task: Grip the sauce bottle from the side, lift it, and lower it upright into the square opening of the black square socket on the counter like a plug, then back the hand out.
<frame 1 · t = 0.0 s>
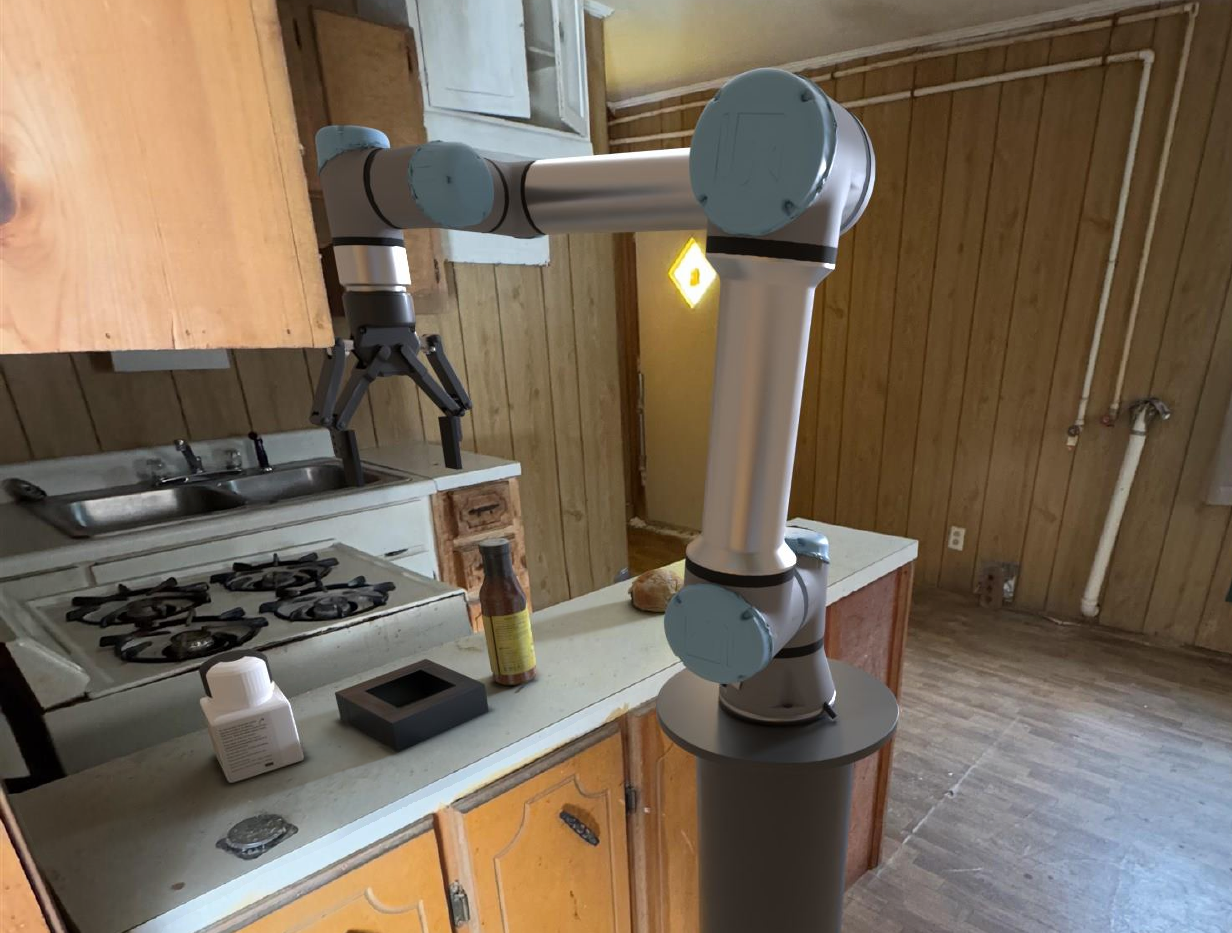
hand: (407, 476, 98), 29 cm above the worktop, tool pointing down, fingers open, 13 cm apart
bread roll: (657, 604, 138), on the worktop
container: (261, 760, 91), on the worktop
black square socket: (415, 715, 100), on the worktop
sauce bottle: (514, 678, 111), on the worktop
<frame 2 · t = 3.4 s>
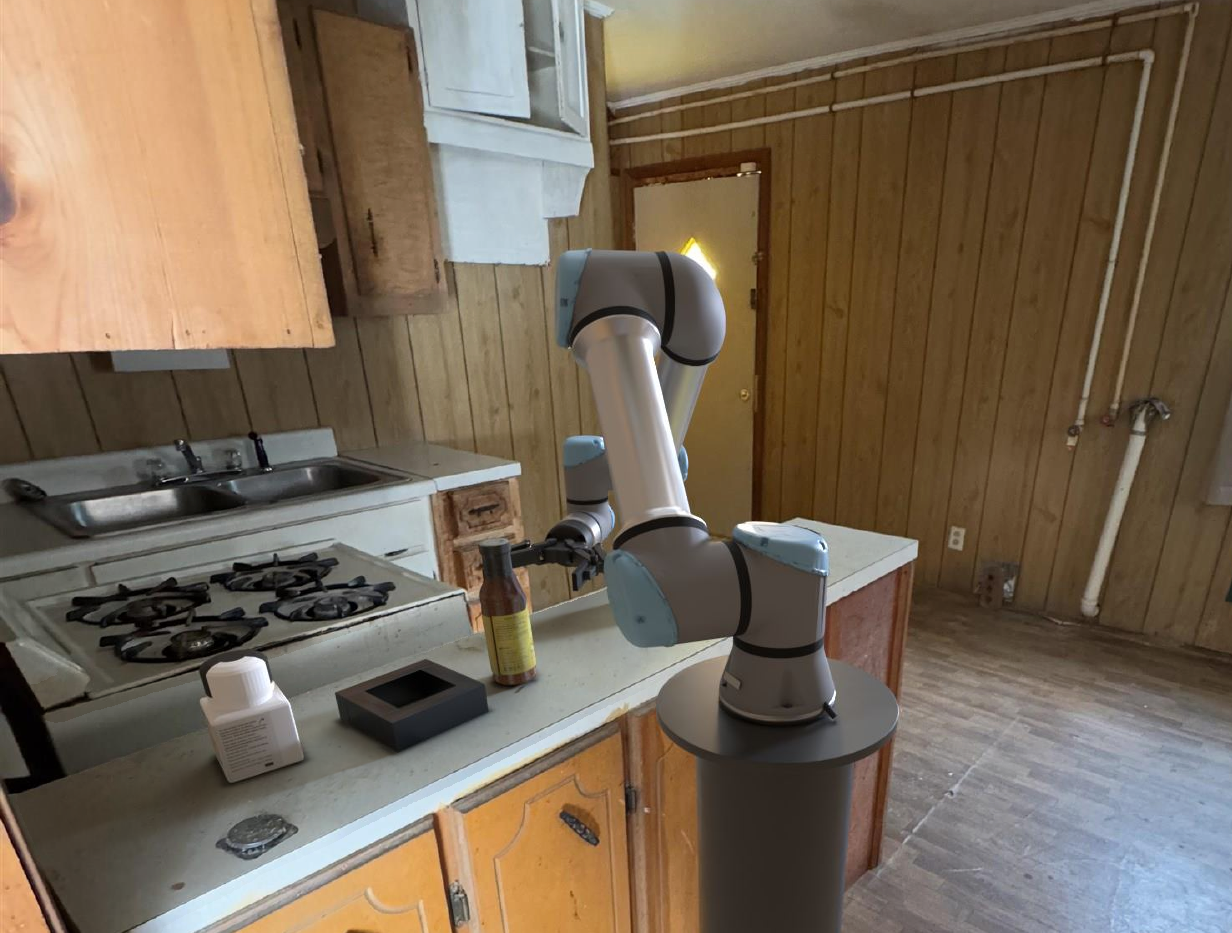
hand: (529, 580, 115), 11 cm above the worktop, tool horizontal, fingers open, 13 cm apart
nothing on the worktop moved.
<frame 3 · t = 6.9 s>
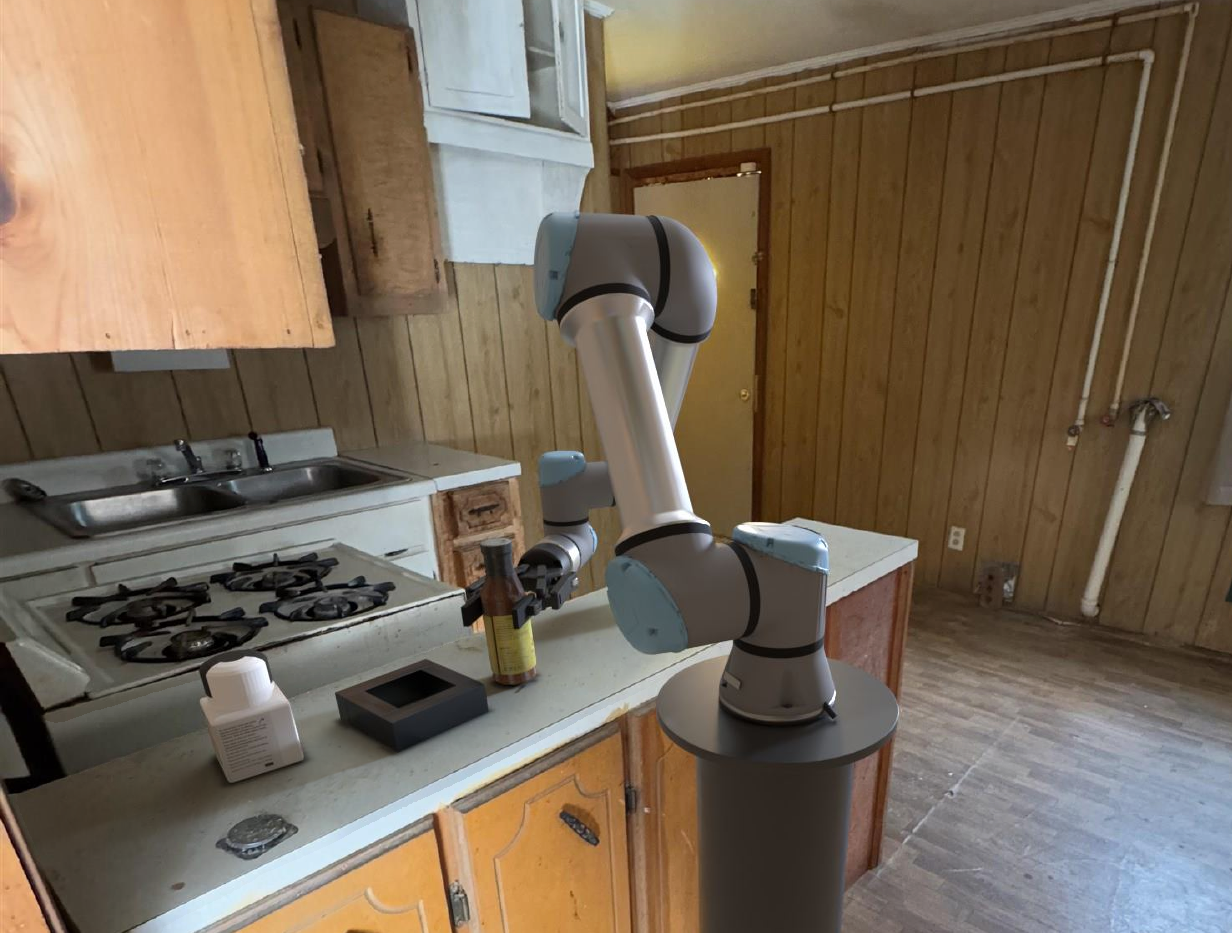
hand: (490, 618, 101), 11 cm above the worktop, tool horizontal, fingers closed on sauce bottle, 6 cm apart
sauce bottle: (514, 678, 111), on the worktop, touching gripper
everything else where it was.
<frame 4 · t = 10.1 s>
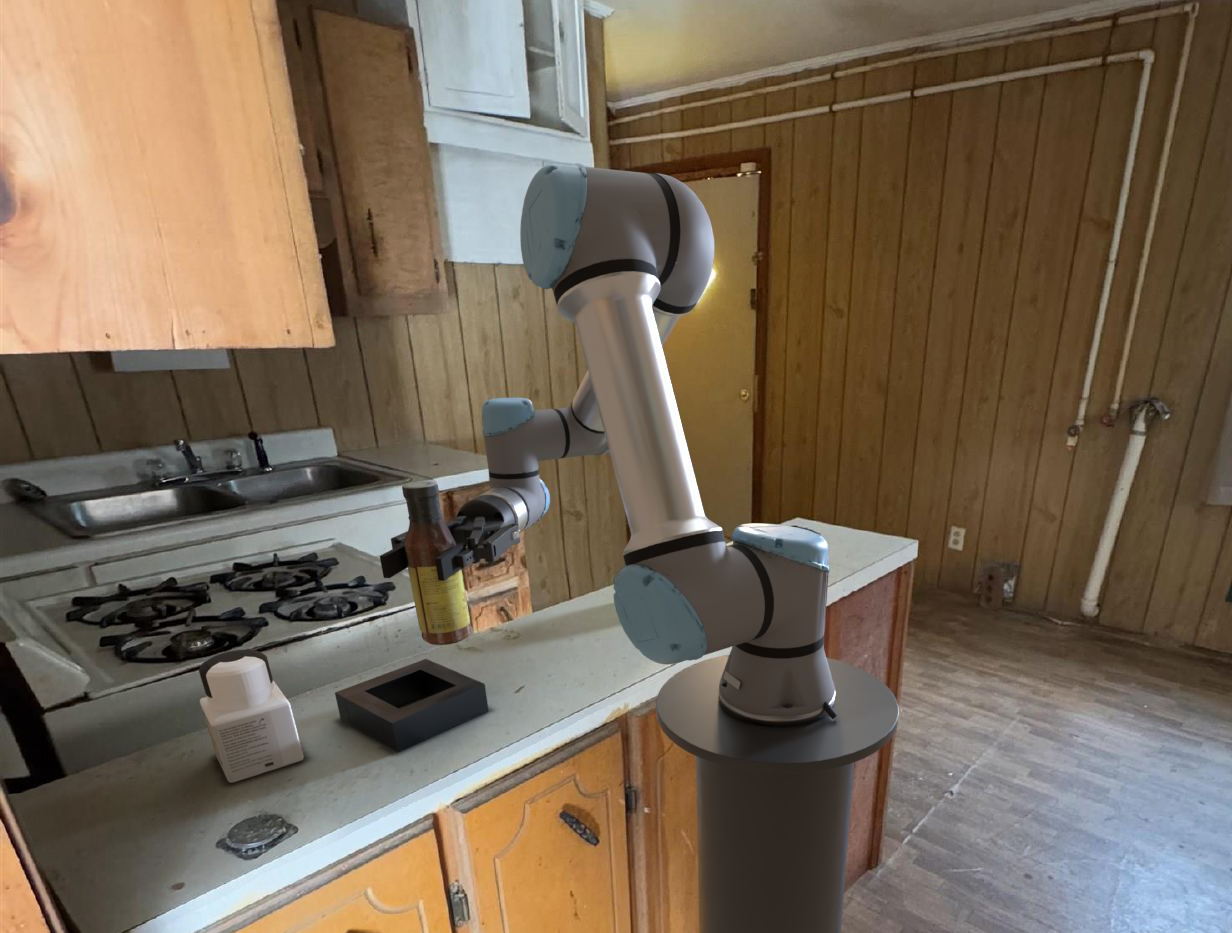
hand: (412, 568, 92), 20 cm above the worktop, tool horizontal, fingers closed on sauce bottle, 6 cm apart
sauce bottle: (446, 639, 101), point 9 cm above the worktop, touching gripper
everything else where it was.
when the fingers open (11 cm above the worktop, at t = 13.7 s): sauce bottle stays where it is, resting in black square socket.
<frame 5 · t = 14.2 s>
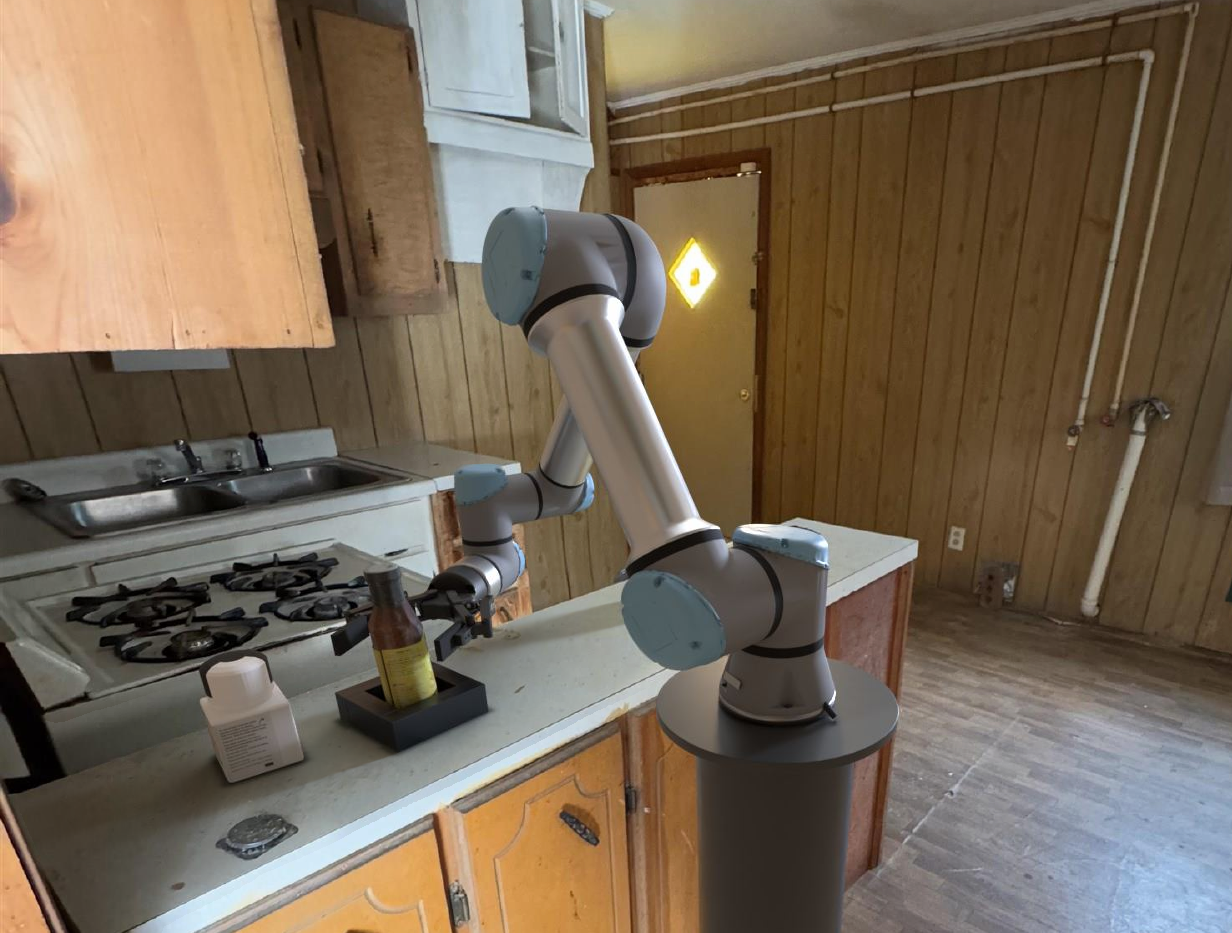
hand: (386, 648, 93), 11 cm above the worktop, tool horizontal, fingers open, 12 cm apart
sauce bottle: (415, 716, 100), resting in black square socket
everything else where it was.
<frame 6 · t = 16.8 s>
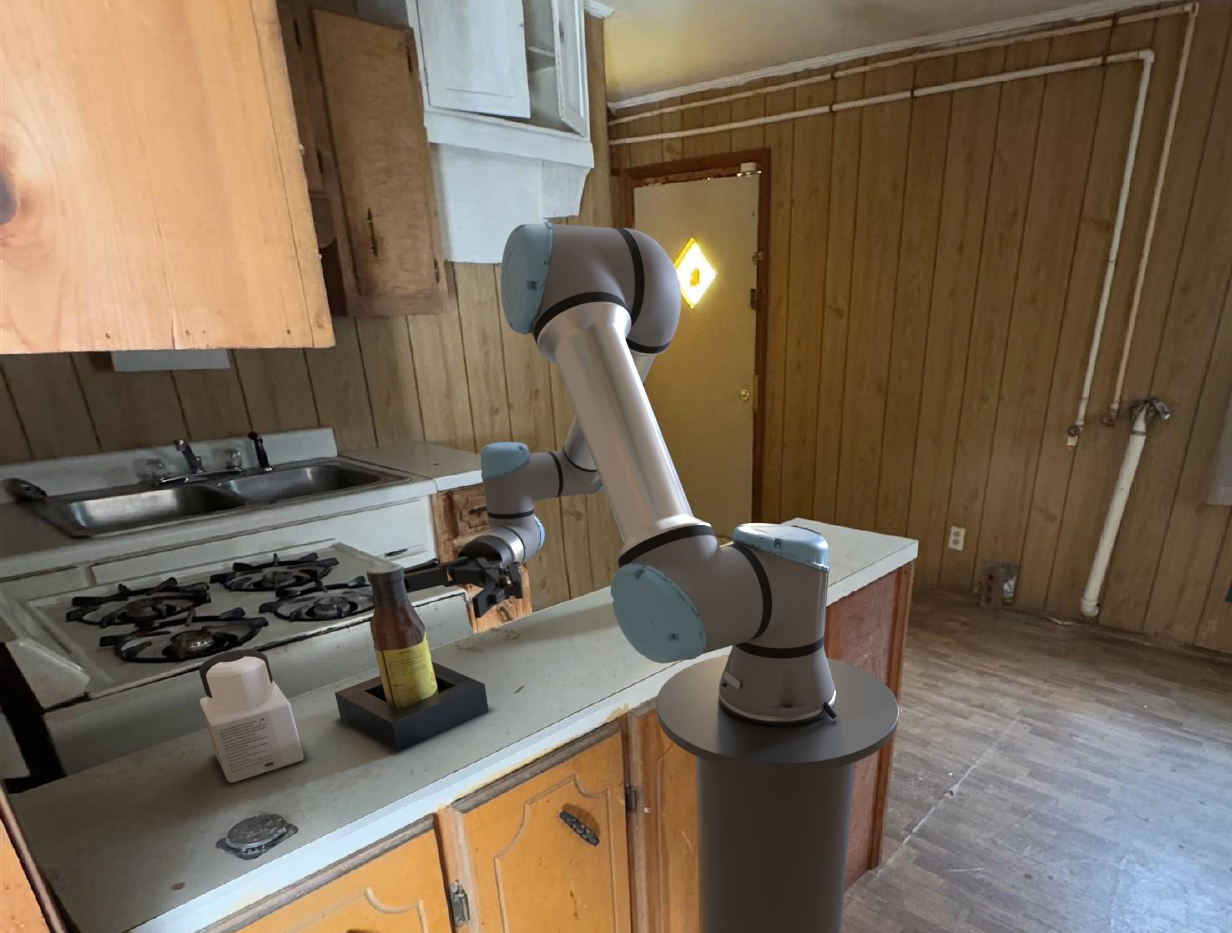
hand: (426, 605, 101), 13 cm above the worktop, tool horizontal, fingers open, 13 cm apart
nothing on the worktop moved.
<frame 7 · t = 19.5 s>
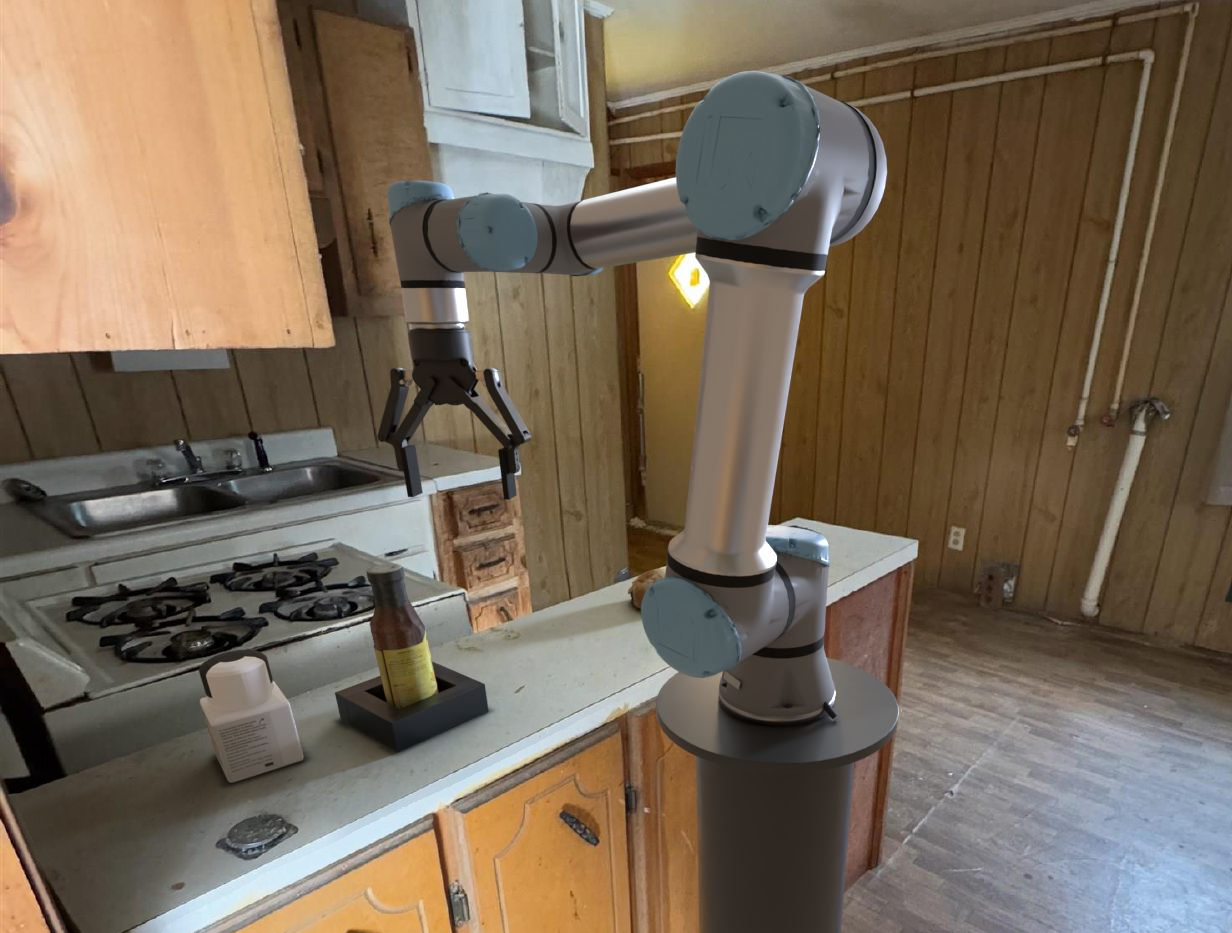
hand: (462, 496, 106), 25 cm above the worktop, tool pointing down, fingers open, 13 cm apart
nothing on the worktop moved.
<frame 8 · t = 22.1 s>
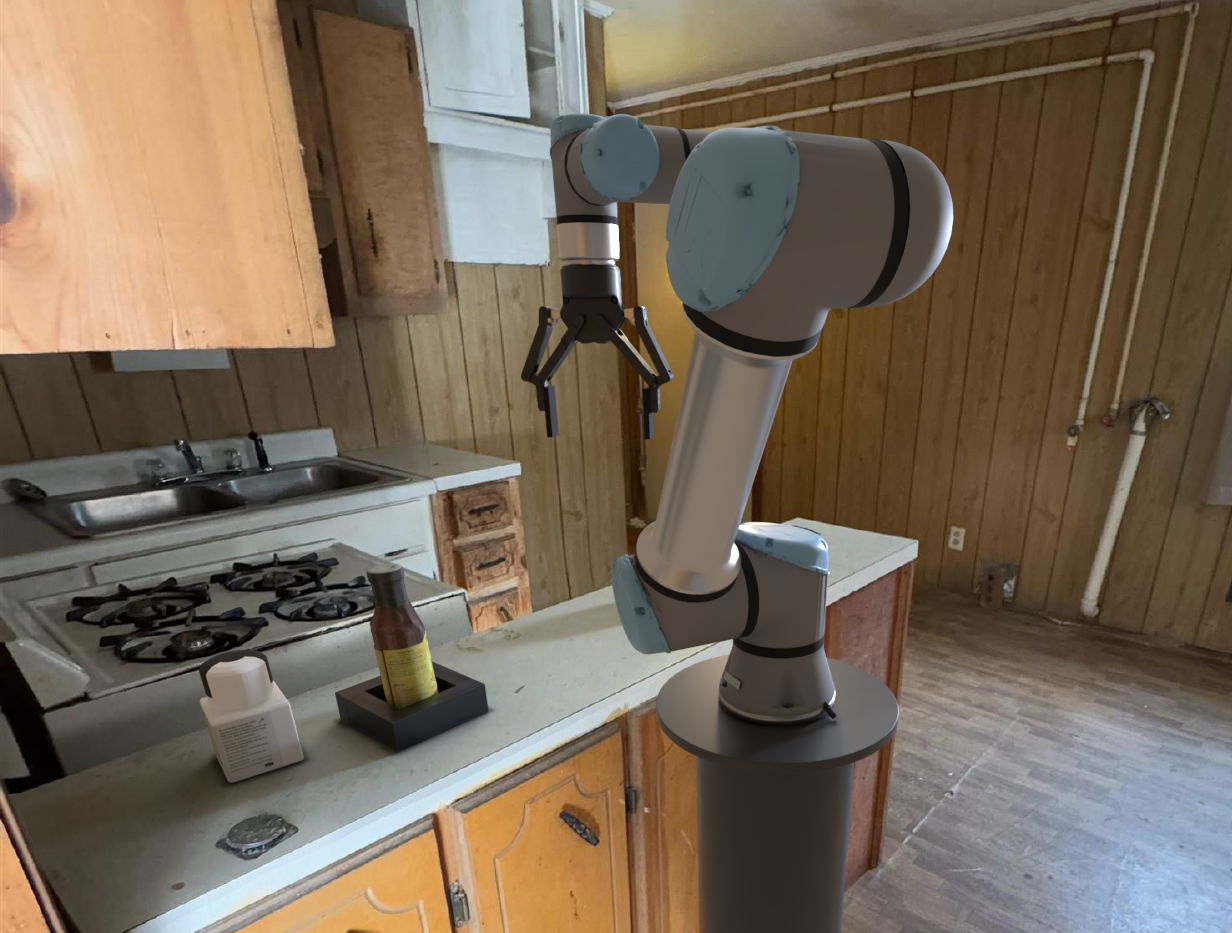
hand: (600, 437, 107), 32 cm above the worktop, tool pointing down, fingers open, 13 cm apart
nothing on the worktop moved.
at the end: sauce bottle 0.1 cm off-centre in the black square socket, point 0.0 cm above the black square socket's base; sauce bottle tilted 0°; the gripper is holding nothing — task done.
